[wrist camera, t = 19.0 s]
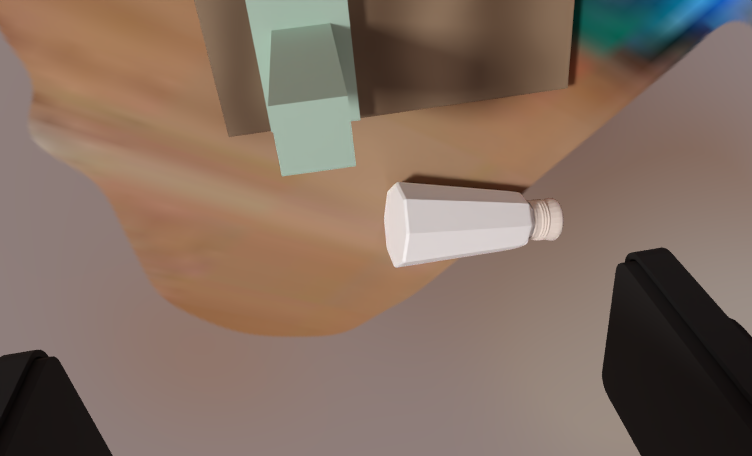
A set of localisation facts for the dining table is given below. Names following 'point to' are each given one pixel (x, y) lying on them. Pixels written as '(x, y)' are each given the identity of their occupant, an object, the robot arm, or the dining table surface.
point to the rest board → (407, 54)
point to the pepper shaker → (462, 222)
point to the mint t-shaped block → (307, 81)
